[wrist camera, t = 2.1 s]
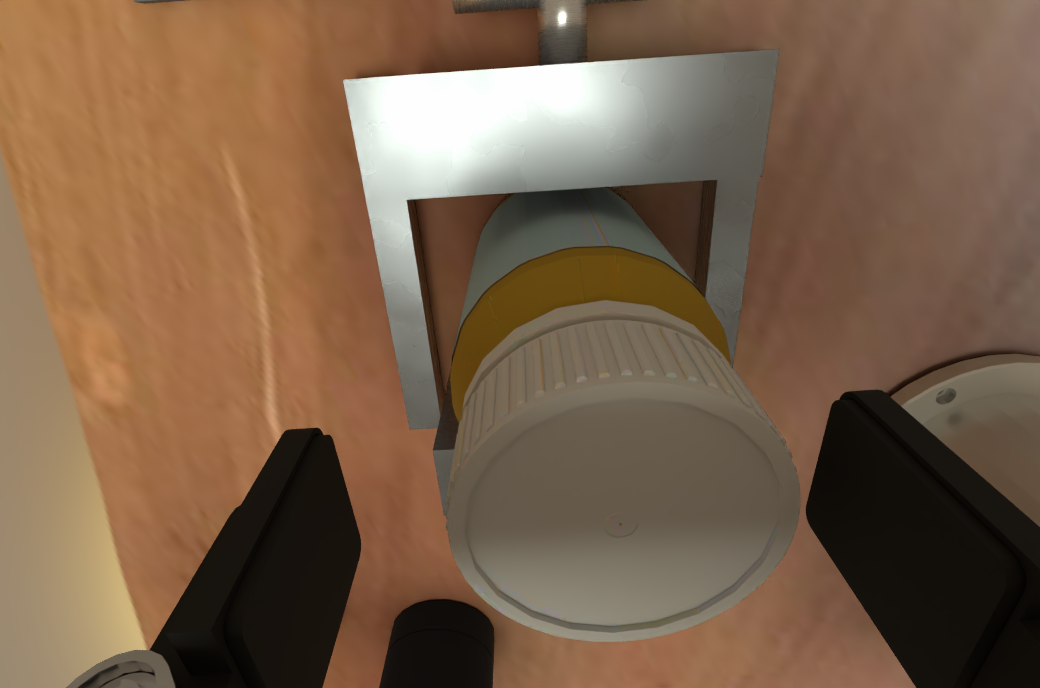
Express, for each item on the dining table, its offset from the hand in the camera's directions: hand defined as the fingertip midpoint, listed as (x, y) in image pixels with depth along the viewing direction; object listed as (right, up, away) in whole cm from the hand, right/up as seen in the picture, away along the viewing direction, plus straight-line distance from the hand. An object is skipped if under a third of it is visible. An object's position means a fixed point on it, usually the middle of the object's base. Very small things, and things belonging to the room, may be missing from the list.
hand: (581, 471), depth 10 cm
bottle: (+1, +6, +13) cm, 14 cm away
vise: (0, +7, +12) cm, 14 cm away
